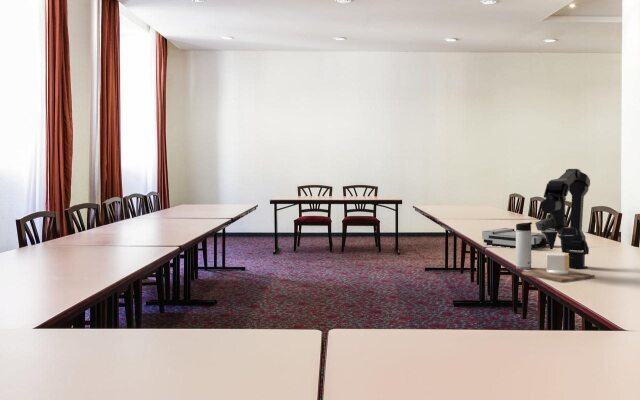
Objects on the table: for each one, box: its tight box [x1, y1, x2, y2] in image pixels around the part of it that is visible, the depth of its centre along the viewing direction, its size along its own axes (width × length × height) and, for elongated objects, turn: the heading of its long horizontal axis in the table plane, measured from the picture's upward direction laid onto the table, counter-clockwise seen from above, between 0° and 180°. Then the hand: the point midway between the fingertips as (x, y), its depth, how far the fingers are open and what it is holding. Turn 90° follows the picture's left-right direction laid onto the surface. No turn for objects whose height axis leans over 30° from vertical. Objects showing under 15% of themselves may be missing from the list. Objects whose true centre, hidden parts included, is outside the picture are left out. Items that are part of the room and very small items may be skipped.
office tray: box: [481, 227, 557, 249], centre depth 311 cm, size 21×32×8 cm, turn 38°
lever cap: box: [545, 253, 570, 275], centre depth 226 cm, size 8×8×7 cm
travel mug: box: [515, 221, 533, 271], centre depth 243 cm, size 6×7×20 cm
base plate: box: [521, 268, 596, 284], centre depth 226 cm, size 18×20×1 cm
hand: (557, 250), depth 225 cm, fingers open, 9 cm apart
